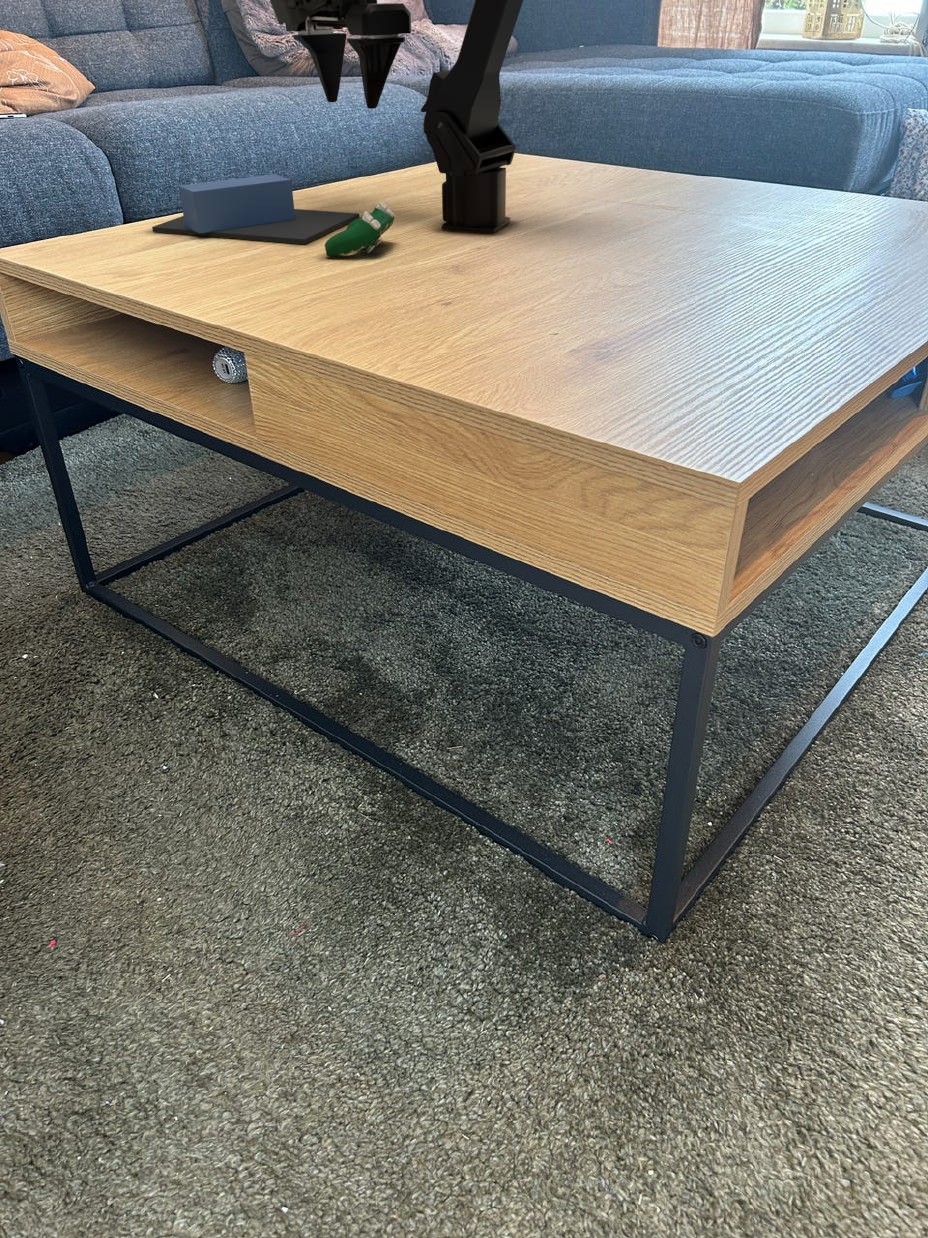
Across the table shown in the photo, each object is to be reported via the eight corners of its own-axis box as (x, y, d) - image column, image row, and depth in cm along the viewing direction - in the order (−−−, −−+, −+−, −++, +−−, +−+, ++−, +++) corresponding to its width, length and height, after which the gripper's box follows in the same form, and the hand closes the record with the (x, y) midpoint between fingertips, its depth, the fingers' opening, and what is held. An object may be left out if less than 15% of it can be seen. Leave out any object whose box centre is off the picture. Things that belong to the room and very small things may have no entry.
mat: (360, 218, 117) (359, 213, 116) (305, 244, 106) (304, 238, 105) (218, 208, 122) (217, 203, 122) (152, 232, 112) (151, 226, 111)
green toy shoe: (345, 277, 101) (382, 236, 98) (318, 249, 100) (355, 207, 97) (369, 255, 109) (404, 217, 105) (345, 229, 107) (379, 190, 104)
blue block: (275, 173, 114) (178, 185, 109) (291, 179, 111) (192, 191, 106) (279, 213, 117) (185, 226, 111) (295, 219, 114) (199, 233, 108)
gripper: (234, -55, 106) (254, 104, 115) (315, -61, 94) (330, 118, 103) (322, -55, 112) (335, 96, 121) (410, -61, 99) (417, 109, 108)
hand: (351, 104), depth 113 cm, fingers open, 9 cm apart
